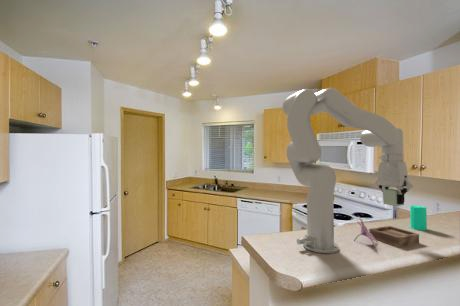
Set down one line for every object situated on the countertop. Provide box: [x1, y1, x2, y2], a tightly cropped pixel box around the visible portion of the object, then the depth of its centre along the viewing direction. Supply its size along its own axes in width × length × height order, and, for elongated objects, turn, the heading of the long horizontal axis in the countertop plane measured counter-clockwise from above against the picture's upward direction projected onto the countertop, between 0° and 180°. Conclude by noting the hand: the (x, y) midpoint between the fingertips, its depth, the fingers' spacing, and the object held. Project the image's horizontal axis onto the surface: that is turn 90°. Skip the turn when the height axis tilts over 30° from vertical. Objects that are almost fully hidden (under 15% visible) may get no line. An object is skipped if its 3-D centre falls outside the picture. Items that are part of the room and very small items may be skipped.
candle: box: [409, 204, 428, 231], centre depth 111 cm, size 6×6×12 cm
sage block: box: [382, 188, 405, 207], centre depth 97 cm, size 5×5×6 cm
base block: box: [368, 225, 420, 248], centre depth 96 cm, size 12×12×4 cm
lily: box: [353, 215, 378, 247], centre depth 94 cm, size 12×12×10 cm
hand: (393, 202), depth 97 cm, fingers closed on sage block, 5 cm apart
